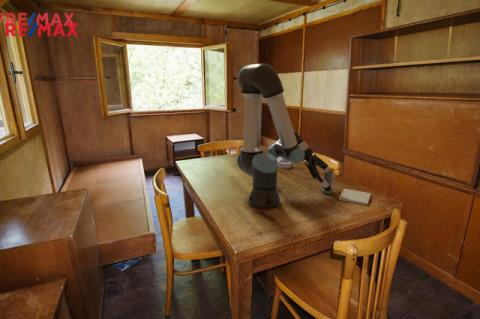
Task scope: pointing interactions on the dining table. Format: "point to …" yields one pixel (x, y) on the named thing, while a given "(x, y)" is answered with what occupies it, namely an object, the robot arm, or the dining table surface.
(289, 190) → the dining table surface
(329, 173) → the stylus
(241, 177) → the dining table surface
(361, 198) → the pad
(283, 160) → the wedge on round base
